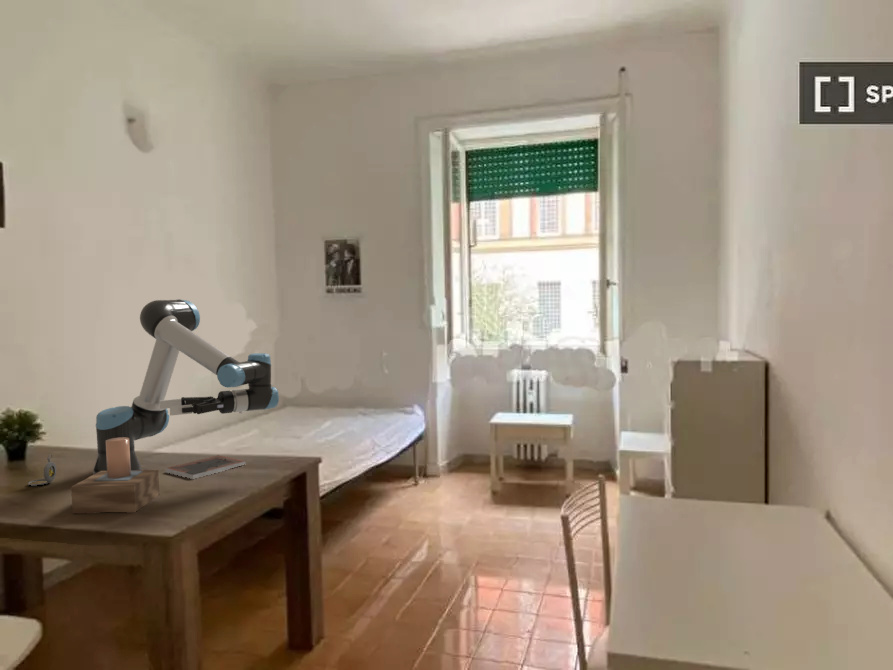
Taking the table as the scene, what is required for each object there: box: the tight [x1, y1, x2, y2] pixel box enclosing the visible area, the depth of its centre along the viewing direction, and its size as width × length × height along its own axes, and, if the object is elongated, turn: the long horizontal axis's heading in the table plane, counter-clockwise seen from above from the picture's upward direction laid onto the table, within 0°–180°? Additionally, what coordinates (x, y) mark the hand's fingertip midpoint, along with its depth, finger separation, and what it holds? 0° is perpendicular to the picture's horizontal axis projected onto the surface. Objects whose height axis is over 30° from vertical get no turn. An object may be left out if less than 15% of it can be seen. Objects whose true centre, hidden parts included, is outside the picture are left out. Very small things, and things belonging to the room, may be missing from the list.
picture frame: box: [165, 454, 246, 480], centre depth 237 cm, size 16×2×22 cm
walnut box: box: [70, 469, 160, 514], centre depth 198 cm, size 17×18×8 cm
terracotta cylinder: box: [106, 437, 131, 478], centre depth 199 cm, size 6×6×11 cm
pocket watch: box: [27, 454, 58, 487], centre depth 220 cm, size 8×8×10 cm
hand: (164, 407), depth 208 cm, fingers open, 13 cm apart
